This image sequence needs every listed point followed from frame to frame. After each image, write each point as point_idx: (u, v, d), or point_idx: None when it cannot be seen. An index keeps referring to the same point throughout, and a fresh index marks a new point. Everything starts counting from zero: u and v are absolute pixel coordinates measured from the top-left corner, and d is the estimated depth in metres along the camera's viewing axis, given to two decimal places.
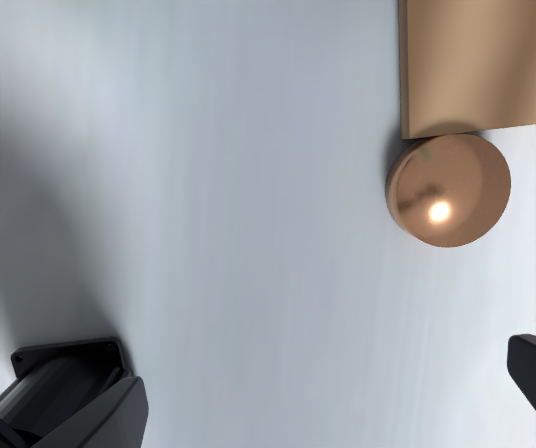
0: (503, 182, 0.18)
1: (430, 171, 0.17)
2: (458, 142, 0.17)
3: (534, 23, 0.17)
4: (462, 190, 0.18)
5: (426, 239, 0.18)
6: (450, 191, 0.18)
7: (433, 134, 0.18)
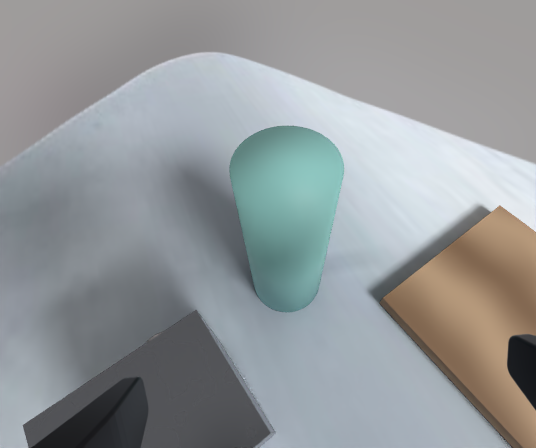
0: None
1: None
2: None
3: None
4: None
5: None
6: None
7: None
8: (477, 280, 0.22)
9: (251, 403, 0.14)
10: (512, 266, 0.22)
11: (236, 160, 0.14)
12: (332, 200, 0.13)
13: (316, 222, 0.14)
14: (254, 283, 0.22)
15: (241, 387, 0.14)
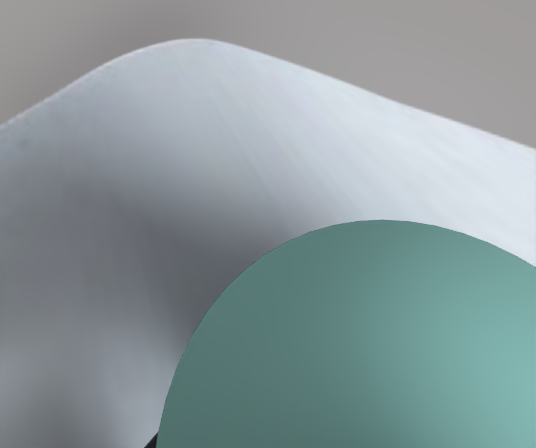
0: None
1: None
2: None
3: None
4: None
5: None
6: None
7: None
8: None
9: None
10: None
11: (190, 400, 0.03)
12: None
13: None
14: None
15: None
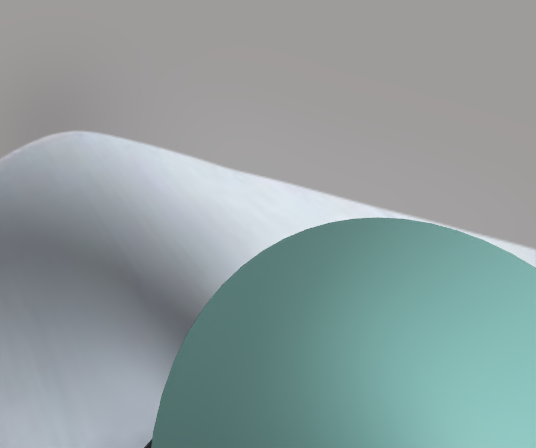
0: None
1: None
2: None
3: None
4: None
5: None
6: None
7: None
8: None
9: None
10: None
11: (186, 397, 0.03)
12: None
13: None
14: None
15: None
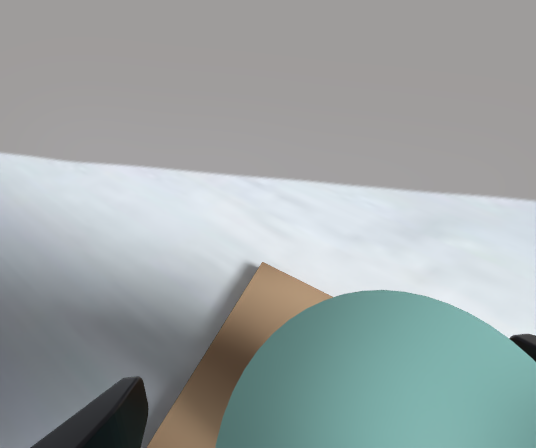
0: None
1: None
2: None
3: None
4: None
5: None
6: None
7: None
8: None
9: None
10: None
11: (234, 446, 0.04)
12: None
13: None
14: None
15: None
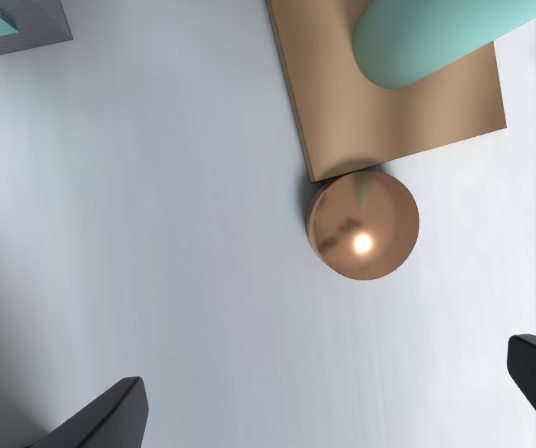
0: (403, 195, 0.18)
1: (336, 221, 0.18)
2: (345, 186, 0.18)
3: None
4: (373, 221, 0.18)
5: (368, 276, 0.19)
6: (363, 227, 0.18)
7: (336, 174, 0.19)
8: None
9: None
10: None
11: None
12: None
13: None
14: (370, 8, 0.16)
15: None
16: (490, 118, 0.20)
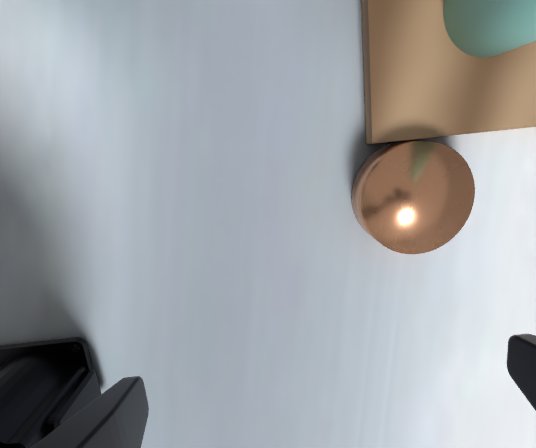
0: (461, 168, 0.17)
1: (387, 193, 0.18)
2: (400, 156, 0.17)
3: None
4: (426, 194, 0.18)
5: (414, 250, 0.18)
6: (414, 201, 0.18)
7: (396, 139, 0.18)
8: None
9: None
10: None
11: None
12: None
13: None
14: None
15: None
16: None
